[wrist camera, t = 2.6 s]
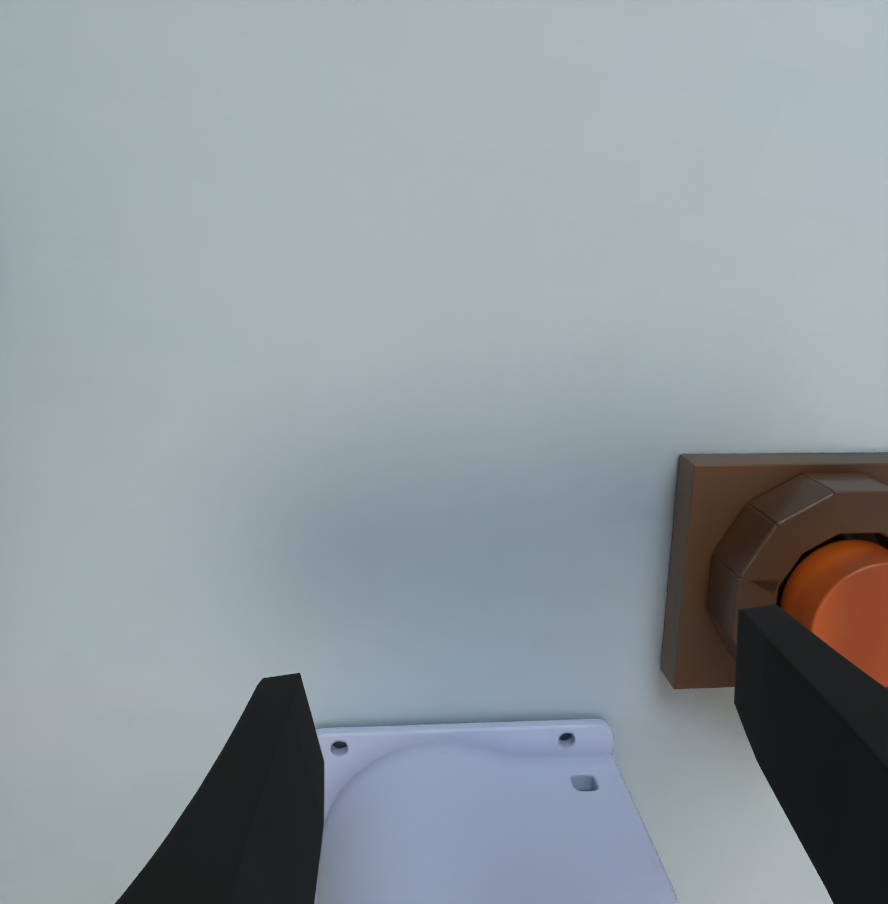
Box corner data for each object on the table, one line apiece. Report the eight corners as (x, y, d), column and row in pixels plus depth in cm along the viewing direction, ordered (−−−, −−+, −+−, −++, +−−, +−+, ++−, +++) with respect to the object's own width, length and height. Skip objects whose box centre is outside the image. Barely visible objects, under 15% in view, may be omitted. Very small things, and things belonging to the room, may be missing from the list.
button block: (938, 451, 25) (1012, 480, 22) (902, 662, 27) (966, 714, 24) (679, 454, 24) (720, 483, 22) (660, 669, 26) (695, 724, 23)
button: (914, 537, 23) (957, 561, 21) (894, 656, 24) (934, 689, 22) (787, 538, 23) (820, 564, 21) (772, 659, 23) (803, 693, 22)
